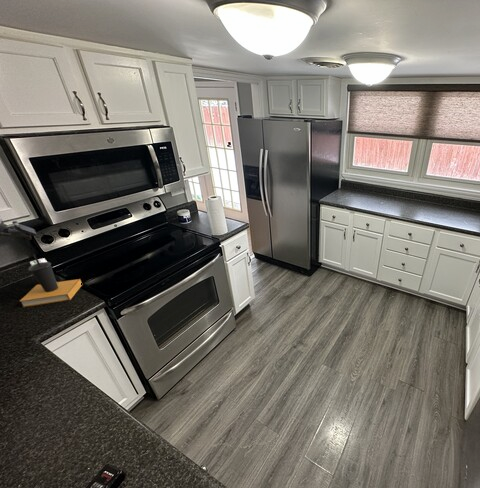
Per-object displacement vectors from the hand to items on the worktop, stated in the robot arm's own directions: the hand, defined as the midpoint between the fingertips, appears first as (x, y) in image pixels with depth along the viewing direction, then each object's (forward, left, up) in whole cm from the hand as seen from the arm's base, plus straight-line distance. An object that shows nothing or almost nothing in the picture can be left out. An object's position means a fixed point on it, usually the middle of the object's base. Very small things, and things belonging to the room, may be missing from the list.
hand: (3, 248), depth 103 cm
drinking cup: (-4, +20, -32) cm, 38 cm away
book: (-4, +20, -36) cm, 41 cm away
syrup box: (-11, +32, -36) cm, 49 cm away
